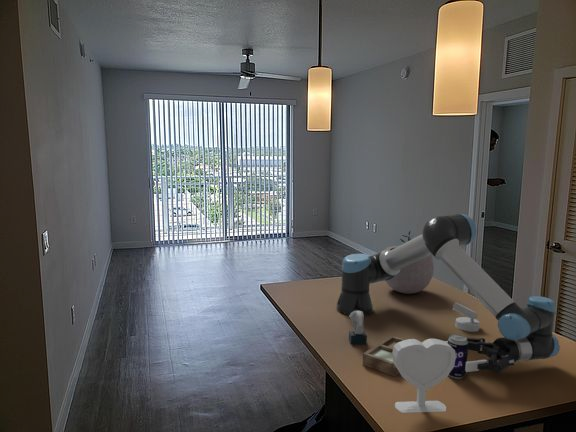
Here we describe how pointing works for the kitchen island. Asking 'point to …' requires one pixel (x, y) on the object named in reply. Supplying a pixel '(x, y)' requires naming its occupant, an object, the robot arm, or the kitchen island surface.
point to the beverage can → (459, 355)
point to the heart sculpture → (423, 370)
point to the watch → (357, 328)
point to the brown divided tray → (382, 356)
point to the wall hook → (466, 319)
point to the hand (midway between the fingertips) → (451, 356)
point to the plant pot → (412, 275)
